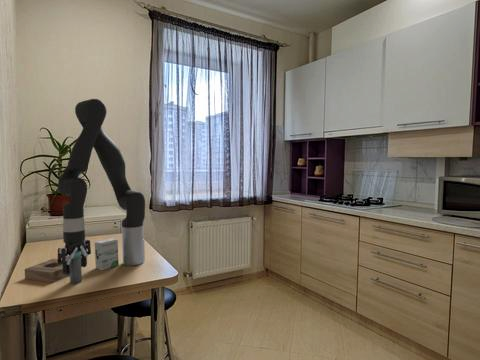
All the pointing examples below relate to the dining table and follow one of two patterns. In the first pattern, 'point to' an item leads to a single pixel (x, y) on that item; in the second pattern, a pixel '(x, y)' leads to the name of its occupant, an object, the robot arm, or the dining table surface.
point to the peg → (76, 269)
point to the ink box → (106, 254)
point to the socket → (46, 271)
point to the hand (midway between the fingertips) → (75, 270)
